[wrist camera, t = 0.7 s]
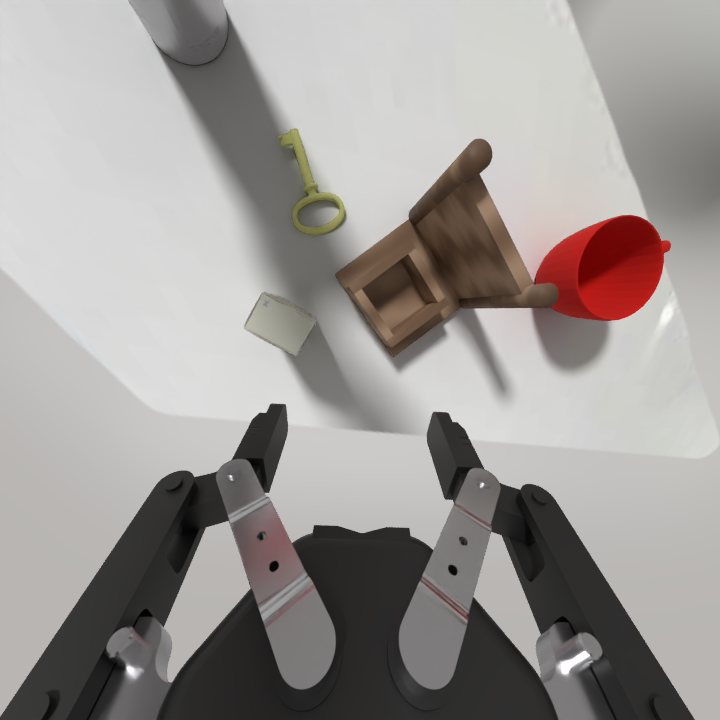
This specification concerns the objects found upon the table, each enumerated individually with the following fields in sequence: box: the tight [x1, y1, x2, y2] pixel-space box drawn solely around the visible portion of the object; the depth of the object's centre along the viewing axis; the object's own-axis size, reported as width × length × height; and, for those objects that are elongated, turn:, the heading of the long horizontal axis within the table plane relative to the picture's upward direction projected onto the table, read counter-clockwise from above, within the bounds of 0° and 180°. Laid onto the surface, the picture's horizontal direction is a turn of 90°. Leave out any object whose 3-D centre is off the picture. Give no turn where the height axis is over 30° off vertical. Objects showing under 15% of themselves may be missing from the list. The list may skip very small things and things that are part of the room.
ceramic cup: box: [535, 215, 671, 321], centre depth 38 cm, size 13×17×10 cm
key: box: [278, 129, 345, 235], centre depth 34 cm, size 7×12×2 cm, turn 36°
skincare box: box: [244, 292, 316, 356], centre depth 32 cm, size 6×4×12 cm
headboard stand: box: [335, 139, 559, 357], centre depth 32 cm, size 17×15×16 cm
